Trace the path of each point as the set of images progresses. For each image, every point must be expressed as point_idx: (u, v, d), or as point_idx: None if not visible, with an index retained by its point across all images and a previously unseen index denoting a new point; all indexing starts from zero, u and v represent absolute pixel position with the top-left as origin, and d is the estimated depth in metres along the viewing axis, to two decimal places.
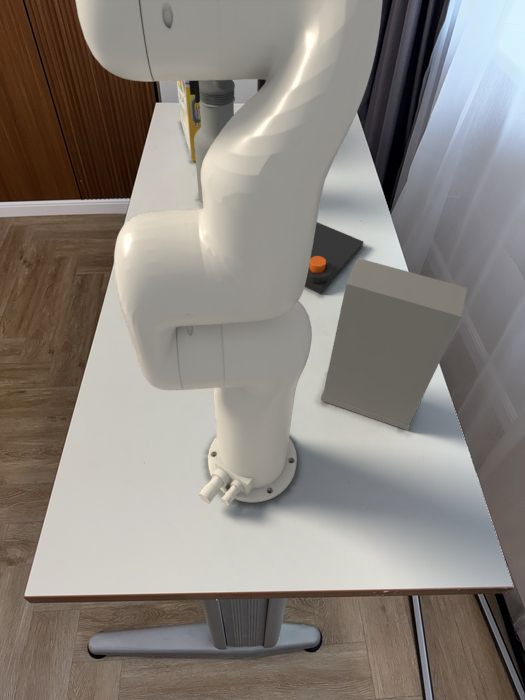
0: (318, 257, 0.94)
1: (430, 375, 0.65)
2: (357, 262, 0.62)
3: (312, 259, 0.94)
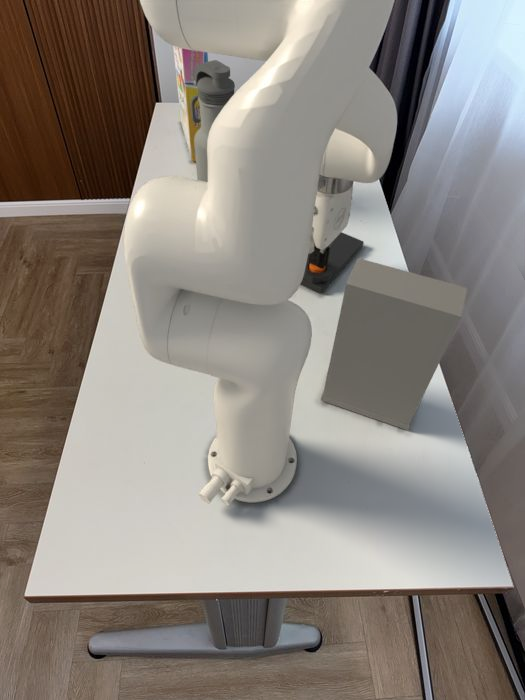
0: None
1: (430, 375, 0.65)
2: (357, 262, 0.62)
3: None
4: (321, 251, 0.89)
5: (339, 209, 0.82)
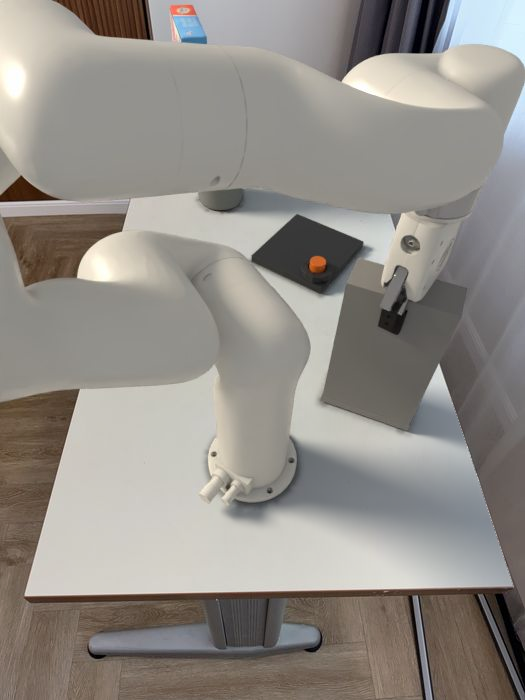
0: (318, 257, 0.94)
1: (430, 375, 0.65)
2: (357, 262, 0.62)
3: (312, 259, 0.94)
4: (401, 310, 0.58)
5: (448, 241, 0.52)
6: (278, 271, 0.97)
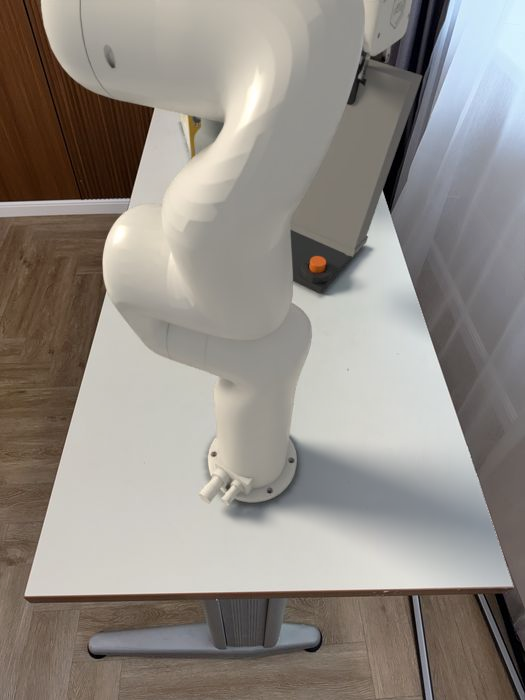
0: (318, 257, 0.94)
1: (378, 170, 0.68)
2: None
3: (312, 259, 0.94)
4: (360, 73, 0.62)
5: None
6: None
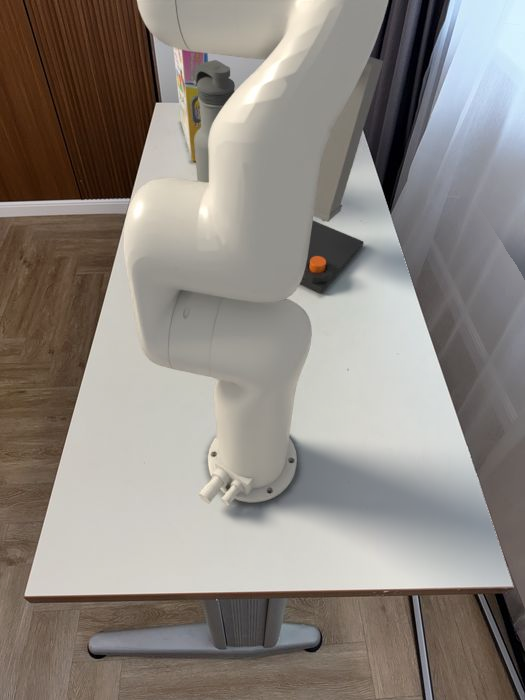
0: (318, 257, 0.94)
1: (347, 143, 0.79)
2: None
3: (312, 259, 0.94)
4: None
5: None
6: None
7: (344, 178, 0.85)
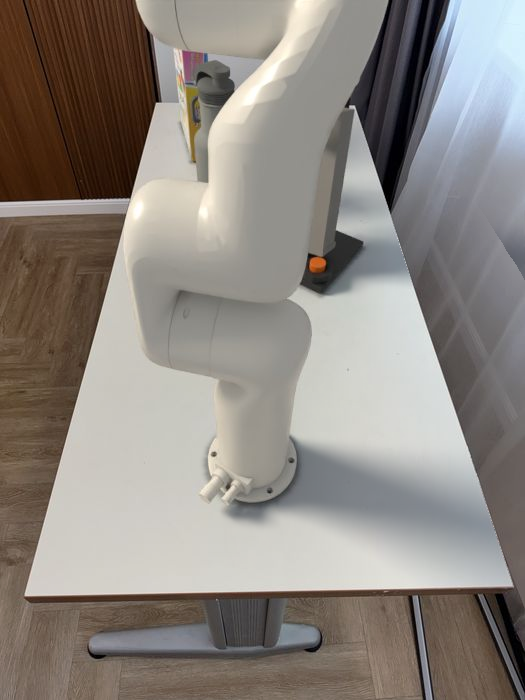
0: (318, 258, 0.94)
1: (330, 183, 0.86)
2: None
3: (312, 260, 0.94)
4: None
5: None
6: None
7: (333, 216, 0.92)
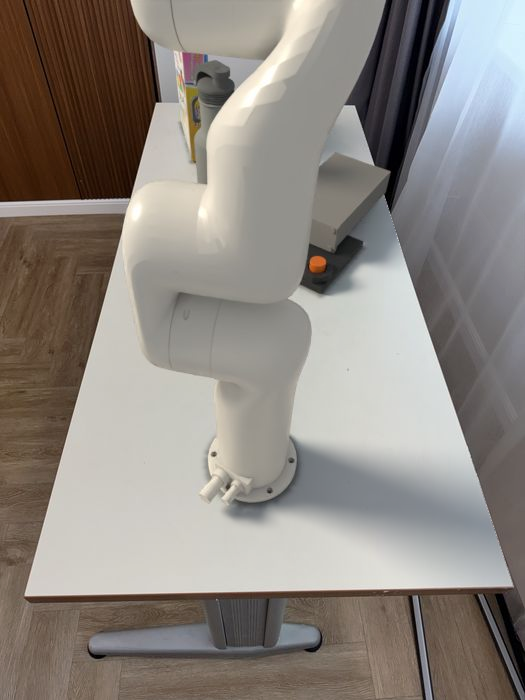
0: (318, 257, 0.94)
1: (366, 195, 1.02)
2: None
3: (312, 259, 0.94)
4: None
5: None
6: None
7: (351, 222, 1.01)
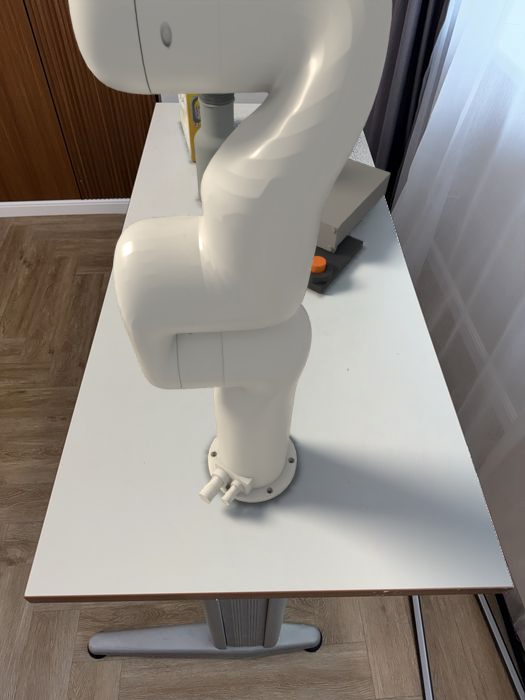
0: (318, 257, 0.94)
1: (366, 195, 1.02)
2: None
3: None
4: None
5: None
6: None
7: (351, 222, 1.01)
